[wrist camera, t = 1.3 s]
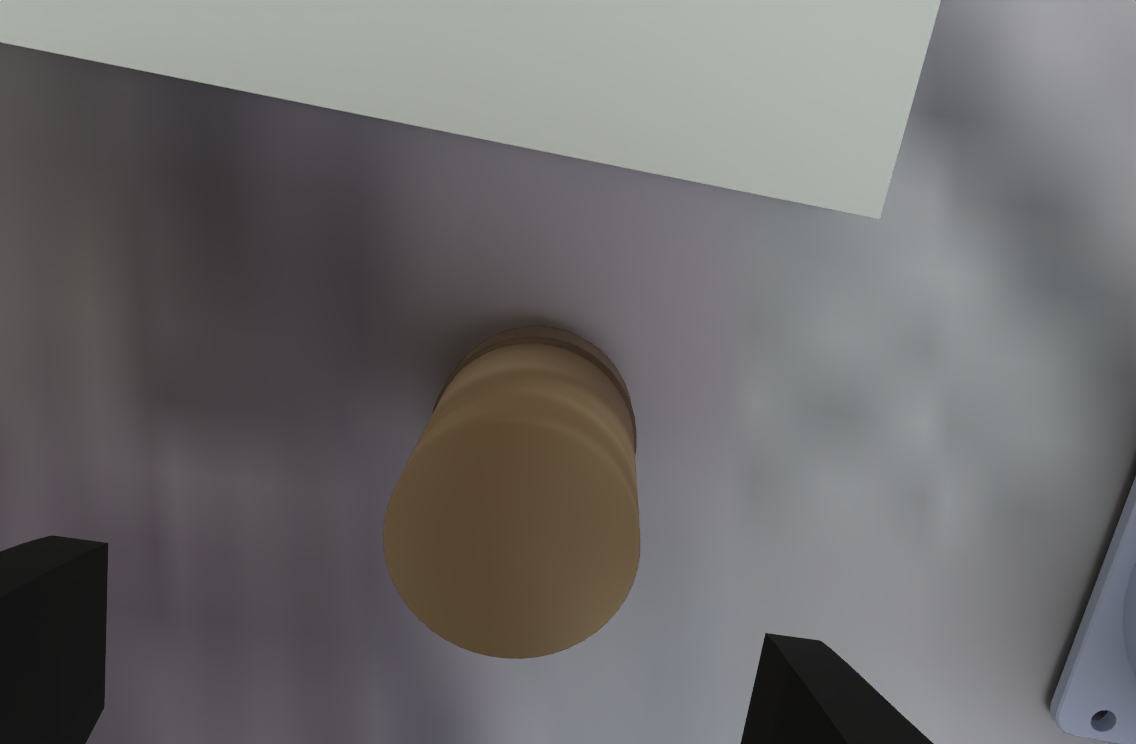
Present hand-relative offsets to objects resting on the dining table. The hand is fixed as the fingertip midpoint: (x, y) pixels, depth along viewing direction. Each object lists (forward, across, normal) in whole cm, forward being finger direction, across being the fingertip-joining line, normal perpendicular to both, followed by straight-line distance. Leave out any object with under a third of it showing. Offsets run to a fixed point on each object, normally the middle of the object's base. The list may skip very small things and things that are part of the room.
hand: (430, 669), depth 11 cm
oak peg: (+10, -1, 0) cm, 10 cm away
